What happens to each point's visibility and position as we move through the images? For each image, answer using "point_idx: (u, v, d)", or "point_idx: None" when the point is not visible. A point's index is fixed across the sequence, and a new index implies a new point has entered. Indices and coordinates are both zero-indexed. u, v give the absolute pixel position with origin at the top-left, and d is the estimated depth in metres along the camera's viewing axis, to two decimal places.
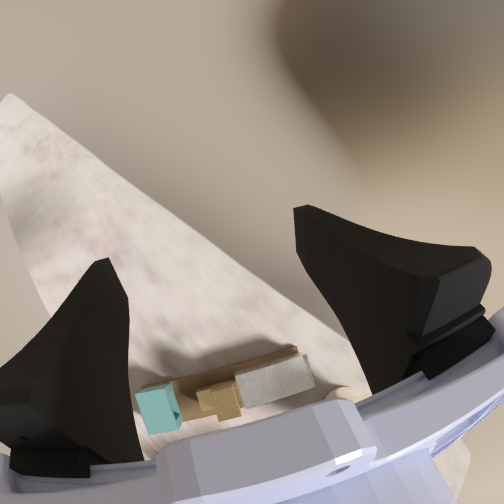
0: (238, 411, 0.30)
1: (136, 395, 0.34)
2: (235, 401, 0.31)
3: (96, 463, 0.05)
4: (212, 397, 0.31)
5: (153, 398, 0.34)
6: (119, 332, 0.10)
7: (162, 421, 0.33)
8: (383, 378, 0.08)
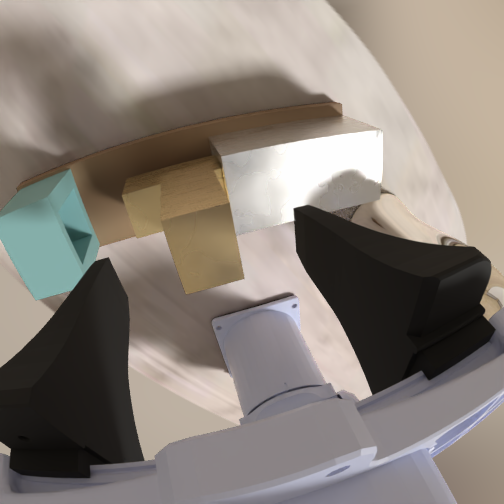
0: (238, 268, 0.13)
1: None
2: (234, 243, 0.12)
3: (96, 463, 0.05)
4: (169, 234, 0.11)
5: (28, 224, 0.13)
6: (119, 333, 0.10)
7: (55, 271, 0.15)
8: (383, 378, 0.08)
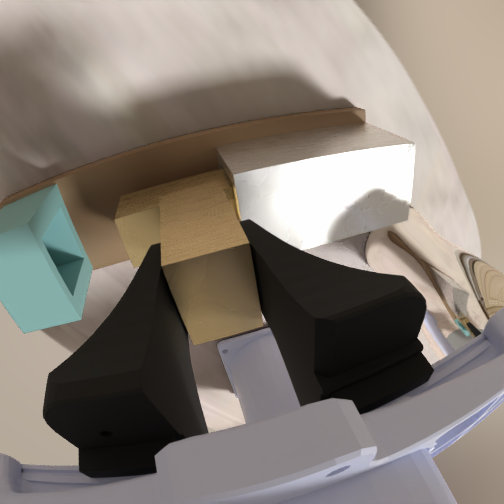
0: (257, 315, 0.10)
1: None
2: (253, 288, 0.10)
3: None
4: (173, 281, 0.09)
5: (8, 253, 0.11)
6: (181, 317, 0.10)
7: (42, 304, 0.12)
8: None
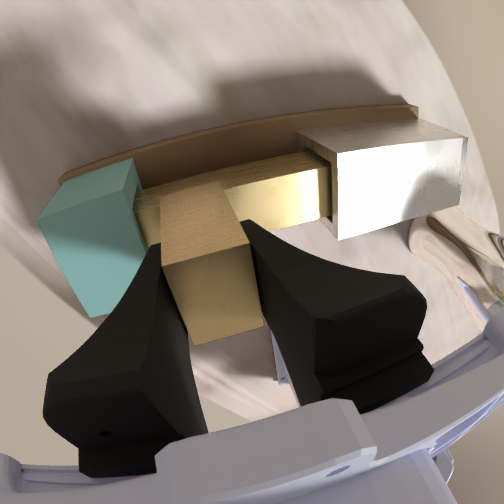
0: (257, 315, 0.10)
1: (42, 222, 0.10)
2: (253, 288, 0.10)
3: None
4: (173, 281, 0.09)
5: (91, 224, 0.11)
6: (181, 317, 0.10)
7: (121, 283, 0.13)
8: None
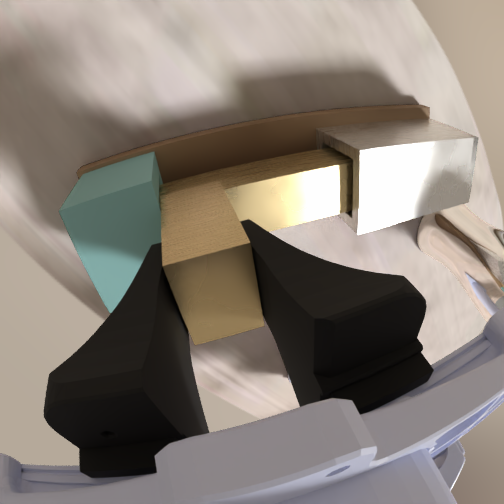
0: (258, 315, 0.10)
1: (64, 213, 0.11)
2: (254, 288, 0.10)
3: None
4: (174, 281, 0.09)
5: (116, 215, 0.11)
6: (182, 317, 0.10)
7: None
8: None
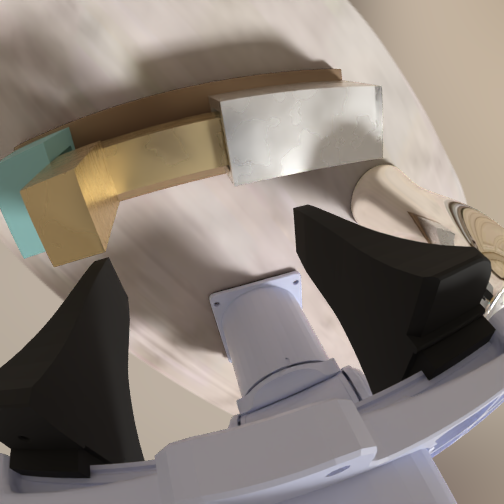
0: (96, 239, 0.11)
1: None
2: (86, 212, 0.10)
3: (96, 463, 0.05)
4: (28, 204, 0.09)
5: (22, 172, 0.12)
6: (120, 333, 0.10)
7: None
8: (383, 378, 0.08)
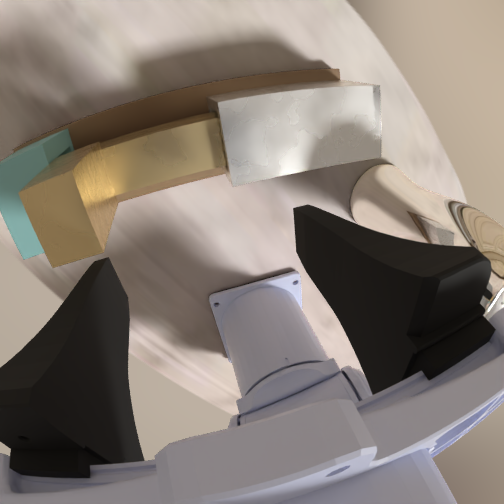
0: (94, 240, 0.11)
1: None
2: (84, 213, 0.10)
3: (97, 463, 0.05)
4: (26, 205, 0.09)
5: (21, 173, 0.12)
6: (119, 333, 0.10)
7: None
8: (383, 378, 0.08)
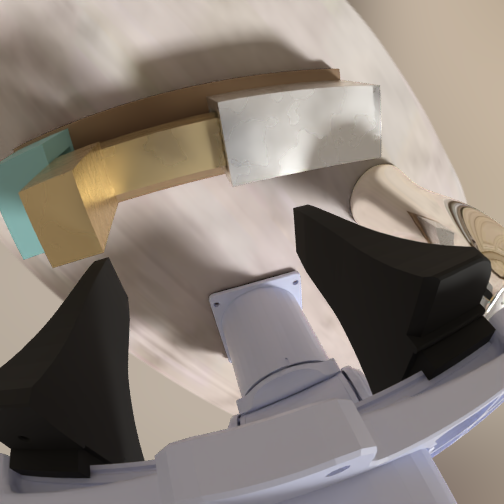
0: (94, 240, 0.11)
1: None
2: (84, 213, 0.10)
3: (97, 463, 0.05)
4: (26, 205, 0.09)
5: (21, 173, 0.12)
6: (119, 333, 0.10)
7: None
8: (383, 378, 0.08)
